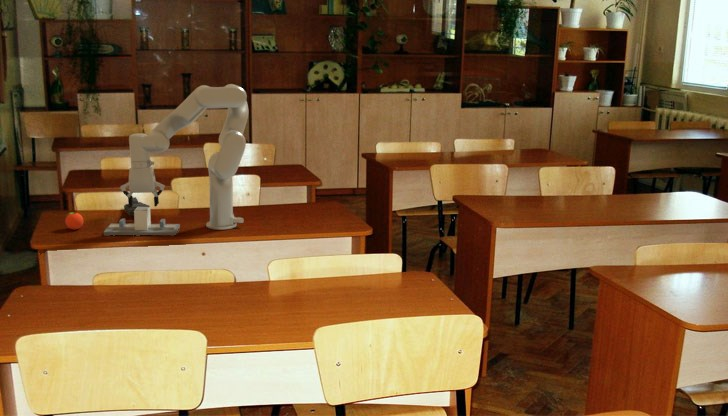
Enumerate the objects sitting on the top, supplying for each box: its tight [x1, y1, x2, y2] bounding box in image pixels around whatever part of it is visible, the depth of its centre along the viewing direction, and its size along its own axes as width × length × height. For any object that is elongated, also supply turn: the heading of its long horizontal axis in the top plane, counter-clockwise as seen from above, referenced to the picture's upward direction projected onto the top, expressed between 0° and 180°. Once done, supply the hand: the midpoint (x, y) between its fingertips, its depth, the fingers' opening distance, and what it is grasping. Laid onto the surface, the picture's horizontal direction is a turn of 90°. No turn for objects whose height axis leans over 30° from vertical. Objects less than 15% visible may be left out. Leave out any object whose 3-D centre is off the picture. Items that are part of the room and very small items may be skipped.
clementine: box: [65, 212, 85, 231], centre depth 306 cm, size 8×7×7 cm
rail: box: [108, 218, 176, 229], centre depth 306 cm, size 26×4×3 cm, turn 96°
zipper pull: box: [123, 196, 151, 216], centre depth 333 cm, size 9×7×25 cm
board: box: [103, 223, 181, 237], centre depth 306 cm, size 28×13×2 cm, turn 96°
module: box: [133, 206, 152, 230], centre depth 305 cm, size 5×7×8 cm
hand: (143, 206), depth 304 cm, fingers open, 9 cm apart
